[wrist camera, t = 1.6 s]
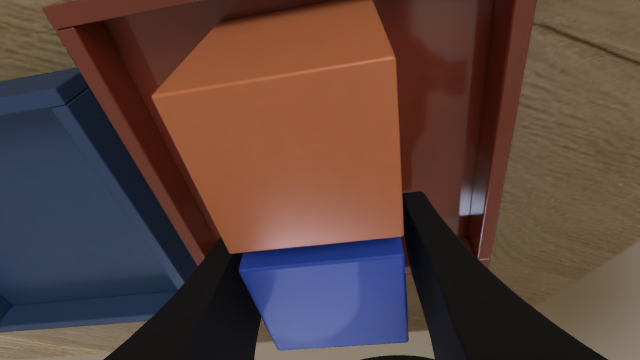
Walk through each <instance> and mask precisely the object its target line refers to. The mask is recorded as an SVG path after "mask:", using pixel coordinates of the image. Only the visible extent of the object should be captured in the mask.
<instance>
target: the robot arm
mask: <svg viewBox="0 0 640 360" xmlns="http://www.w3.org/2000/svg"><path fill="white" fill-rule="evenodd" d="M402 199H403V221H404V238H405V244H406V250H407V255H408V260H409V265H410V269H411V272H412V276H413V279H414V282H415V286H416V289H417V292H418V296H419V299H420V302H421V306H422V309H423V313H424V316H425V319H426V323H427V326H428V330H429V333H430V337H431V342H432V346H433V351H434V356H435V360H608V359H606V358H604V357H603V356H601V355H600V354H598V353H596V352H595V351H593V350H592V349H590V348H589V347H587V346H586V345H584V344H583V343H581V342H580V341H578V340H577V339H575V338H574V337H573V336H571V335H570V334H568V333H567V332H565V331H564V330H563V329H561V328H560V327H558V326H557V325H555V324H554V323H553V322H551V321H550V320H549V319H548V318H546V317H545V316H543V315H542V314H541V313H540V312H538V311H537V310H536V309H534V308H533V307H532V306H531V305H529V304H528V303H527V302H525V301H524V300H523V299H522V298H520V297H519V296H518V295H517V294H516V293H514V292H513V291H512V290H511V289H510V288H508V287H507V286H506V285H505V284H504V283H503V282H502V281H501V280H499V279H498V278H497V277H496V276H495V275H494V274H493V273H492V272H491V271H490V270H489V269H488V268H486V267H485V266H484V265H483V264H482V263H481V262H480V261H479V260H478V259H477V258H476V256H475V255H474V254H473V253H472V252H471V251H470V250H469V249H468V248H467V247H466V246H465V245H464V244H463V243H462V242H461V240H460V239H459V238H458V237H457V236H456V235H455V233H454V232H453V231H452V230H451V229H450V228H449V226H448V225H447V224H446V223H445V221H444V220H443V219H442V217H441V216H440V215H439V214H438V212H437V211H436V209H435V208H434V207H433V205H432V204H431V202H430V201H429V199H428V198H427V196H426V194H425V193H424V192H422V191H417V192H409V193H402ZM242 255H243V253H234V254H230V253H229V252H228V250H227V248H226V246H225V244H224V242H223V240H222V238H221V236H220V238H219V239H218V241H217V242H216V243H215V245H214V246H213V247H212V249H211V250H210V251H209V253H208V254H207V255H206V257H205V258H204V259H203V261H202V262H201V263H200V264H199V266H198V267H197V268H196V269H195V271H194V272H193V273H192V274H191V275H190V277H189V278H188V279H187V280H186V282H185V283H184V284H183V285H182V286H181V287H180V289H179V290H178V291H177V292H176V293H175V294H174V295H173V296H172V297H171V298H170V299H169V300H168V301H167V302H166V304H165V305H164V306H163V307H162V308H161V309H160V310H159V311H158V312H157V313H156V314H155V315H154V316H153V317H152V318H150V319H149V320H148V321H147V322H146V323H145V324H144V325H143V326H142V327H141V328H140V329H139V330H137V331H136V332H135V333H134V334H133V335H132V336H131V337H130V338H129V339H128V340H126V341H125V342H124V343H123V344H122V345H121V346H119V347H118V348H117V349H116V350H115V351H113V352H112V353H111V354H110V355H109V356H107V357H106V358H105V359H104V360H254V355H255V348H256V341H257V336H258V331H259V326H260V320H261V315H260V313H259V311H258V309H257V307H256V305H255V303H254V301H253V299H252V297H251V295H250V293H249V291H248V289H247V287H246V285H245V283H244V281H243V279H242V277H241V275H240V273H239V267H240V263H241V259H242Z"/></svg>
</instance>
